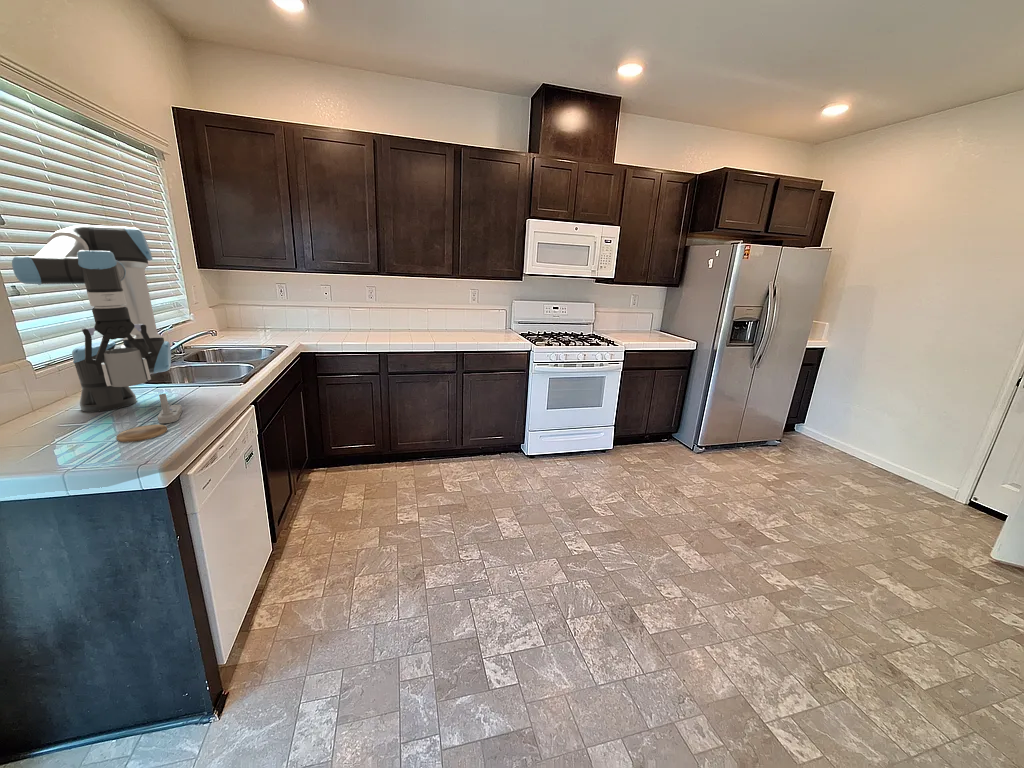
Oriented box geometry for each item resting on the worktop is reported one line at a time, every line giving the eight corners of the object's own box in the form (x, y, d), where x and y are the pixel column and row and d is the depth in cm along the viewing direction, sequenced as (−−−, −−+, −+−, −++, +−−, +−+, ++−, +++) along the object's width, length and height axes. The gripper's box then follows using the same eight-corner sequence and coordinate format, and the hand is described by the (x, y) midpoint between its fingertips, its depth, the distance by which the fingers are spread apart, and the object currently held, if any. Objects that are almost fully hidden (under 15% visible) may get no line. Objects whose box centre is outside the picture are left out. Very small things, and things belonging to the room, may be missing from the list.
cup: (150, 377, 130) (143, 347, 127) (143, 384, 123) (135, 352, 120) (115, 380, 126) (107, 349, 123) (106, 388, 119) (96, 354, 116)
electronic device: (177, 384, 148) (171, 395, 136) (183, 410, 151) (177, 422, 139) (159, 387, 146) (150, 397, 133) (165, 413, 148) (157, 425, 136)
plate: (114, 434, 129) (113, 431, 128) (163, 423, 137) (162, 421, 137) (119, 445, 121) (119, 442, 121) (171, 434, 130) (170, 431, 129)
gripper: (56, 310, 108) (80, 392, 114) (159, 305, 123) (175, 377, 129) (55, 308, 112) (78, 386, 119) (154, 303, 128) (170, 373, 134)
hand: (129, 381), depth 124 cm, fingers closed on cup, 8 cm apart
